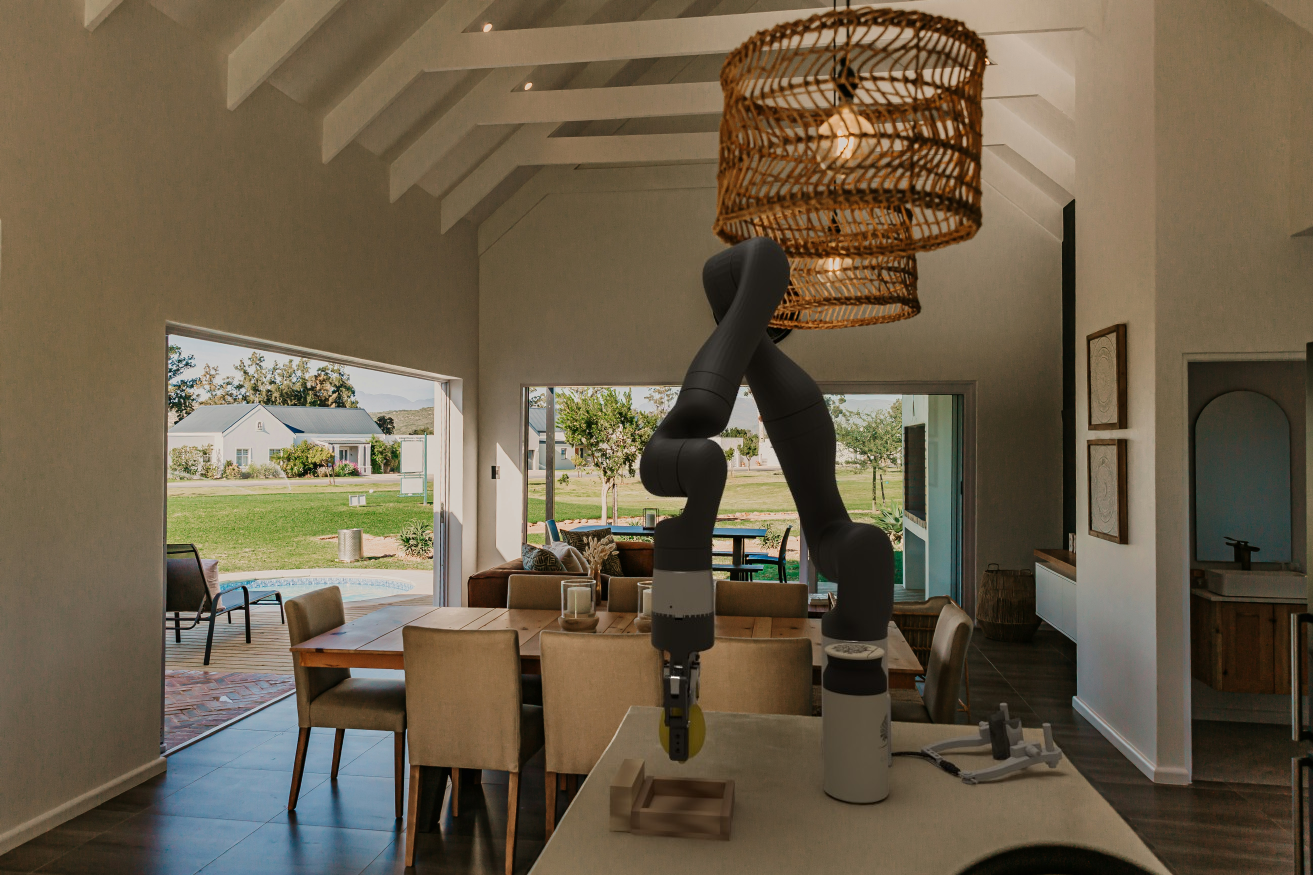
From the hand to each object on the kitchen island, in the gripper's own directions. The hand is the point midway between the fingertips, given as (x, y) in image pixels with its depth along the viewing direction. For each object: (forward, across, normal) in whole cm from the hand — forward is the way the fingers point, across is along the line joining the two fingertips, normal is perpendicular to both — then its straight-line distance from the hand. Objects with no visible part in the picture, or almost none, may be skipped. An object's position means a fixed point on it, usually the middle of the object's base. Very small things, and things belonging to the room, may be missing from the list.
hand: (682, 750), depth 99 cm
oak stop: (+8, 0, -6) cm, 10 cm away
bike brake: (+8, -23, +37) cm, 45 cm away
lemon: (+2, 0, 0) cm, 2 cm away
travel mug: (+8, -11, +21) cm, 25 cm away
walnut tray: (+8, 0, 0) cm, 8 cm away
